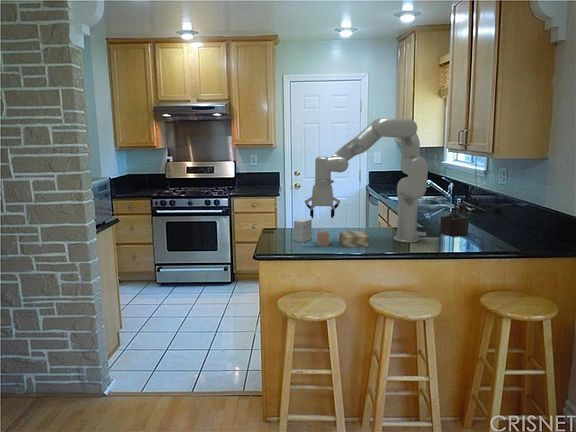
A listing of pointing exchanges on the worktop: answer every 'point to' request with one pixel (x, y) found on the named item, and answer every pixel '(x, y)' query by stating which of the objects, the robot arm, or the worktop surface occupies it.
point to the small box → (302, 230)
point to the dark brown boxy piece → (455, 223)
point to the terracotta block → (323, 238)
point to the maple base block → (354, 239)
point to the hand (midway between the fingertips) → (322, 217)
